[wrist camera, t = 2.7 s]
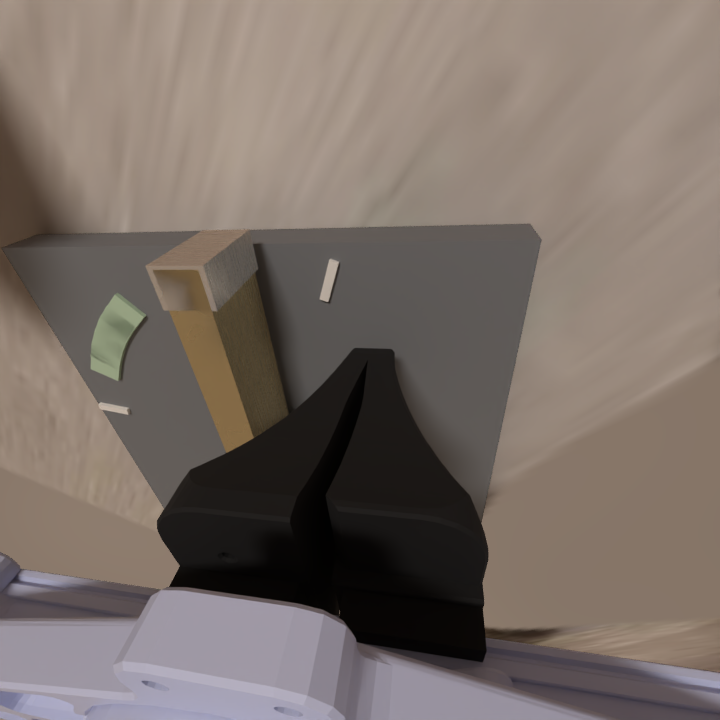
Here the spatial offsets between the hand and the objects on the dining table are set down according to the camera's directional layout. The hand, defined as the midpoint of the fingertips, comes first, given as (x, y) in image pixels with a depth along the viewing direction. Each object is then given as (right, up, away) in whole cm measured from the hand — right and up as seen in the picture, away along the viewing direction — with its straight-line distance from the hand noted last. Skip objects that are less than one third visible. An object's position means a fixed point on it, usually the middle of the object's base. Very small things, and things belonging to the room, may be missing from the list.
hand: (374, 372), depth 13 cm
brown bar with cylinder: (-4, -1, +2) cm, 5 cm away
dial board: (-4, -2, +6) cm, 7 cm away
